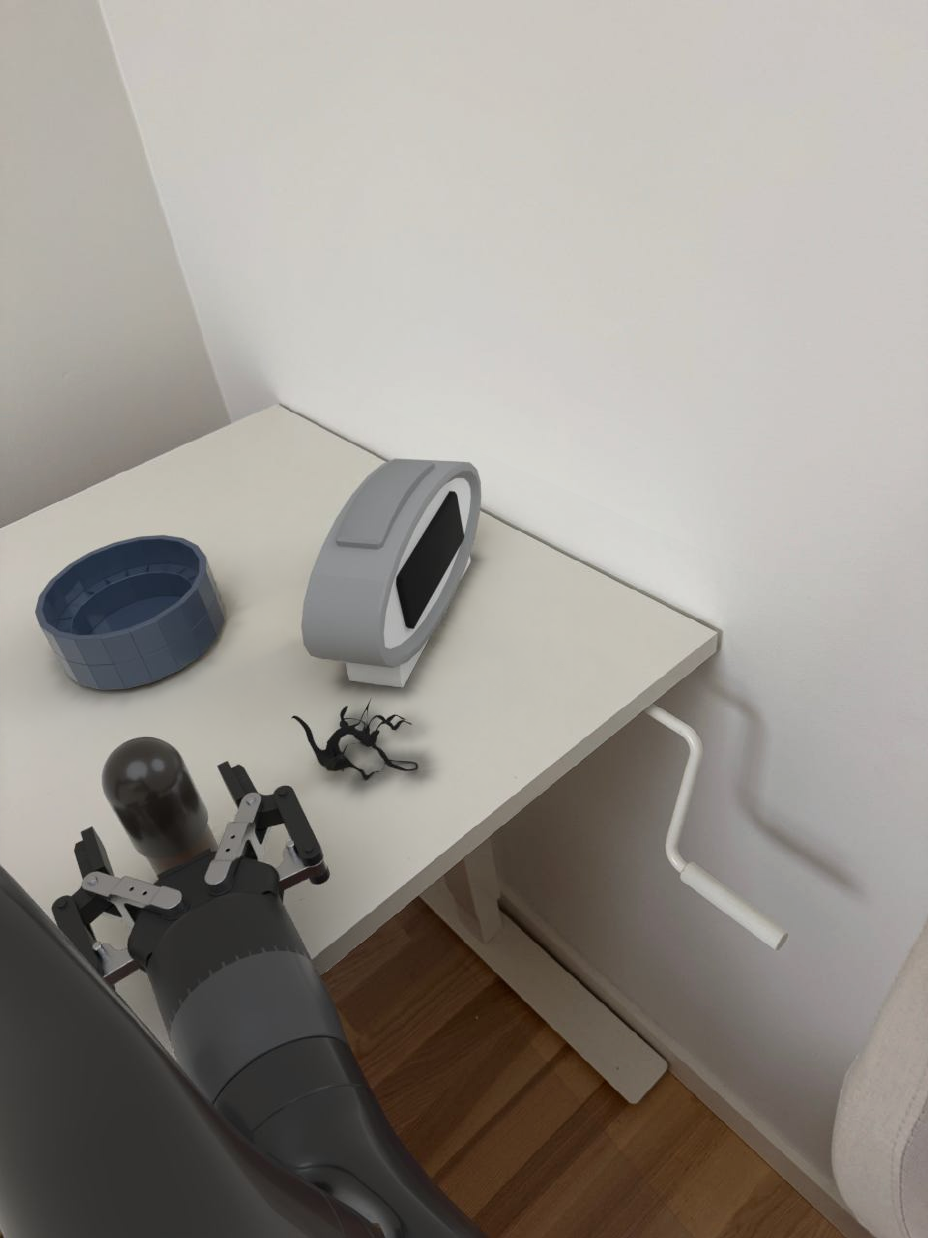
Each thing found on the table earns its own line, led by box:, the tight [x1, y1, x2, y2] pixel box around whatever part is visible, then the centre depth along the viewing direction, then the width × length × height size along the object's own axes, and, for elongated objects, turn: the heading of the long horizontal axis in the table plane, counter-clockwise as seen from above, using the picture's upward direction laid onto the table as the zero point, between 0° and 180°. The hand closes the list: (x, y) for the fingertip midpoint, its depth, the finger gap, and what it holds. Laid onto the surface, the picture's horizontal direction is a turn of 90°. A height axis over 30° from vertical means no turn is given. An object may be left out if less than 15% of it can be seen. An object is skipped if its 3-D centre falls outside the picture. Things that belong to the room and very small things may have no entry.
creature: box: [290, 697, 419, 781], centre depth 67 cm, size 8×5×8 cm
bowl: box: [34, 534, 226, 691], centre depth 82 cm, size 14×14×6 cm
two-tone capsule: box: [101, 736, 219, 876], centre depth 57 cm, size 5×5×13 cm
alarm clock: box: [300, 458, 482, 688], centre depth 76 cm, size 23×6×13 cm, turn 161°
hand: (160, 804), depth 58 cm, fingers open, 8 cm apart
